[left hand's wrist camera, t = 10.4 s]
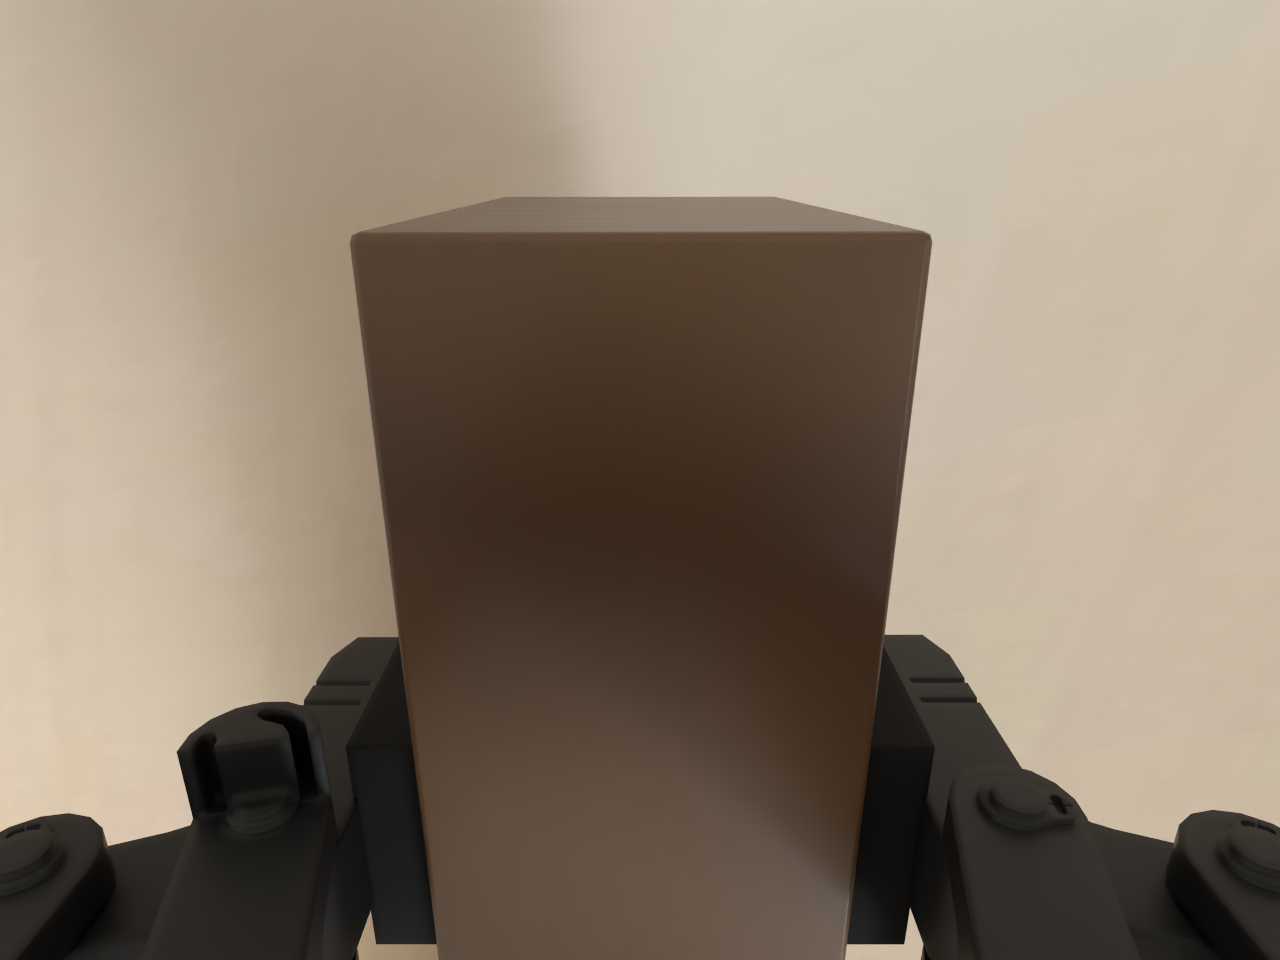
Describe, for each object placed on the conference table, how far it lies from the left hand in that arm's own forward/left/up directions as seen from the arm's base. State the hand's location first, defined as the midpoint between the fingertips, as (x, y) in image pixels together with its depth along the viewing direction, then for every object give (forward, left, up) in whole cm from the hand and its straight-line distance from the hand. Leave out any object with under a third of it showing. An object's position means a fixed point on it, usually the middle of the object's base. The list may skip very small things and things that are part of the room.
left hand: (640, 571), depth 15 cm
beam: (+19, +21, -1) cm, 29 cm away
